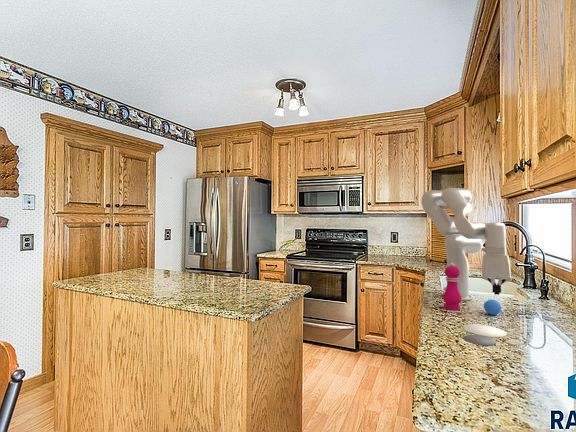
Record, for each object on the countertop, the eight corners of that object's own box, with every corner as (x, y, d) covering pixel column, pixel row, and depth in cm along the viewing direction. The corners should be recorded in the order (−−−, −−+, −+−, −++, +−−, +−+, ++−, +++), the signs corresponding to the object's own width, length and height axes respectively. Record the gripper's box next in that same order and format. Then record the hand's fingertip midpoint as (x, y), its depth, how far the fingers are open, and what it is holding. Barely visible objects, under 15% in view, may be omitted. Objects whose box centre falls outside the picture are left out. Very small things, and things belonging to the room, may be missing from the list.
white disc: (454, 325, 118) (454, 325, 118) (484, 323, 121) (484, 323, 121) (483, 338, 106) (483, 337, 106) (516, 335, 108) (516, 335, 108)
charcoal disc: (457, 336, 107) (457, 335, 107) (480, 334, 109) (480, 334, 109) (478, 346, 99) (478, 346, 99) (503, 344, 100) (503, 344, 100)
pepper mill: (457, 306, 145) (457, 261, 145) (464, 311, 138) (464, 263, 138) (440, 306, 146) (440, 261, 146) (446, 310, 139) (446, 263, 139)
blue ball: (480, 312, 136) (480, 298, 136) (492, 312, 137) (492, 297, 137) (492, 317, 130) (492, 302, 130) (504, 316, 131) (504, 301, 131)
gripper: (474, 251, 142) (475, 293, 141) (516, 252, 133) (517, 297, 132) (477, 250, 148) (478, 291, 147) (517, 251, 139) (518, 295, 138)
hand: (496, 294), depth 140 cm, fingers closed
